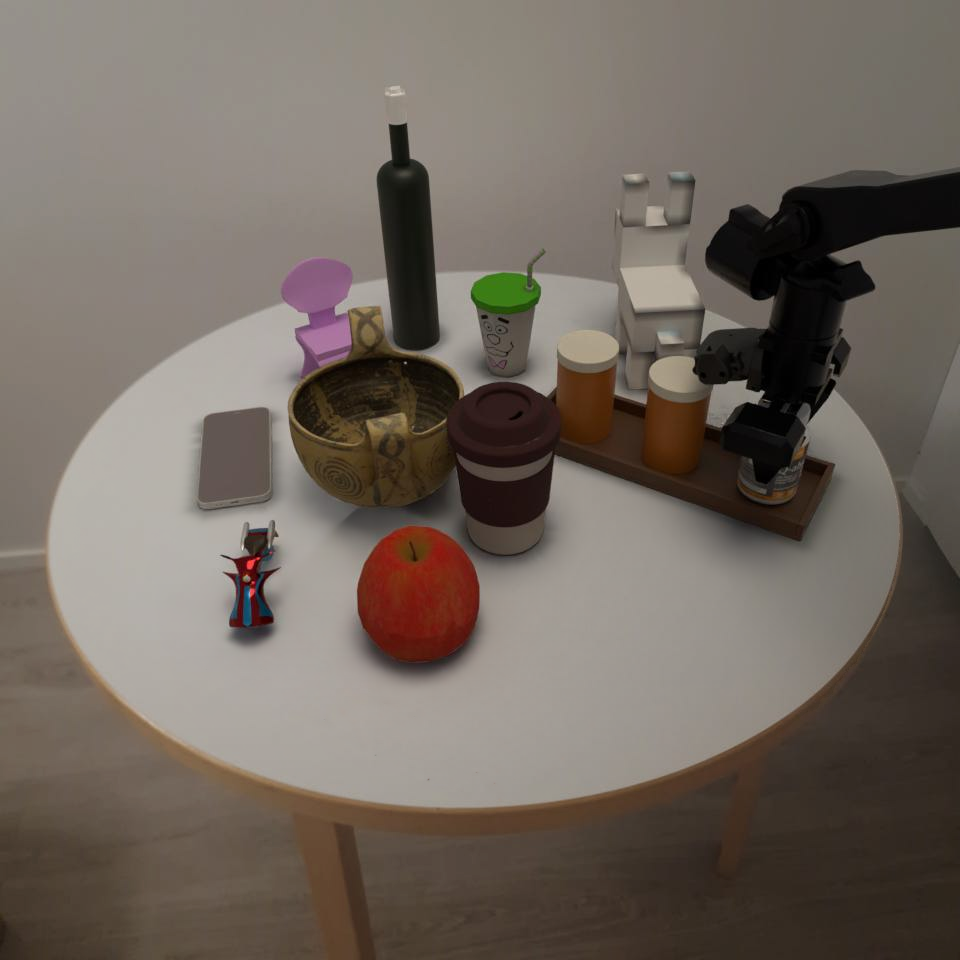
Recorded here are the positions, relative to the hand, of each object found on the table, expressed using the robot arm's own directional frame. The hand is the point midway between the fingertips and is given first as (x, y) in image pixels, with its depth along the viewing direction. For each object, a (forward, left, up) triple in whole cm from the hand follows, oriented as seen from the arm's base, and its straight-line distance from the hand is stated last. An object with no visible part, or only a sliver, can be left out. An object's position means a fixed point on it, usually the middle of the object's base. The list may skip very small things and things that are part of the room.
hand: (771, 464), depth 88 cm
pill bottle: (0, 0, -3) cm, 3 cm away
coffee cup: (+20, +17, -4) cm, 26 cm away
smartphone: (+50, +22, -4) cm, 54 cm away
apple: (+20, +31, -4) cm, 37 cm away
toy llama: (+20, -17, -4) cm, 26 cm away
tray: (+10, 0, -4) cm, 11 cm away
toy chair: (+49, +6, -4) cm, 49 cm away
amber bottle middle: (+10, 0, -3) cm, 11 cm away
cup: (+34, -7, -4) cm, 34 cm away
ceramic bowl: (+34, +17, -4) cm, 38 cm away
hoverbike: (+35, +35, -4) cm, 50 cm away
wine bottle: (+47, -7, -4) cm, 47 cm away
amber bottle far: (+20, 0, -3) cm, 20 cm away
